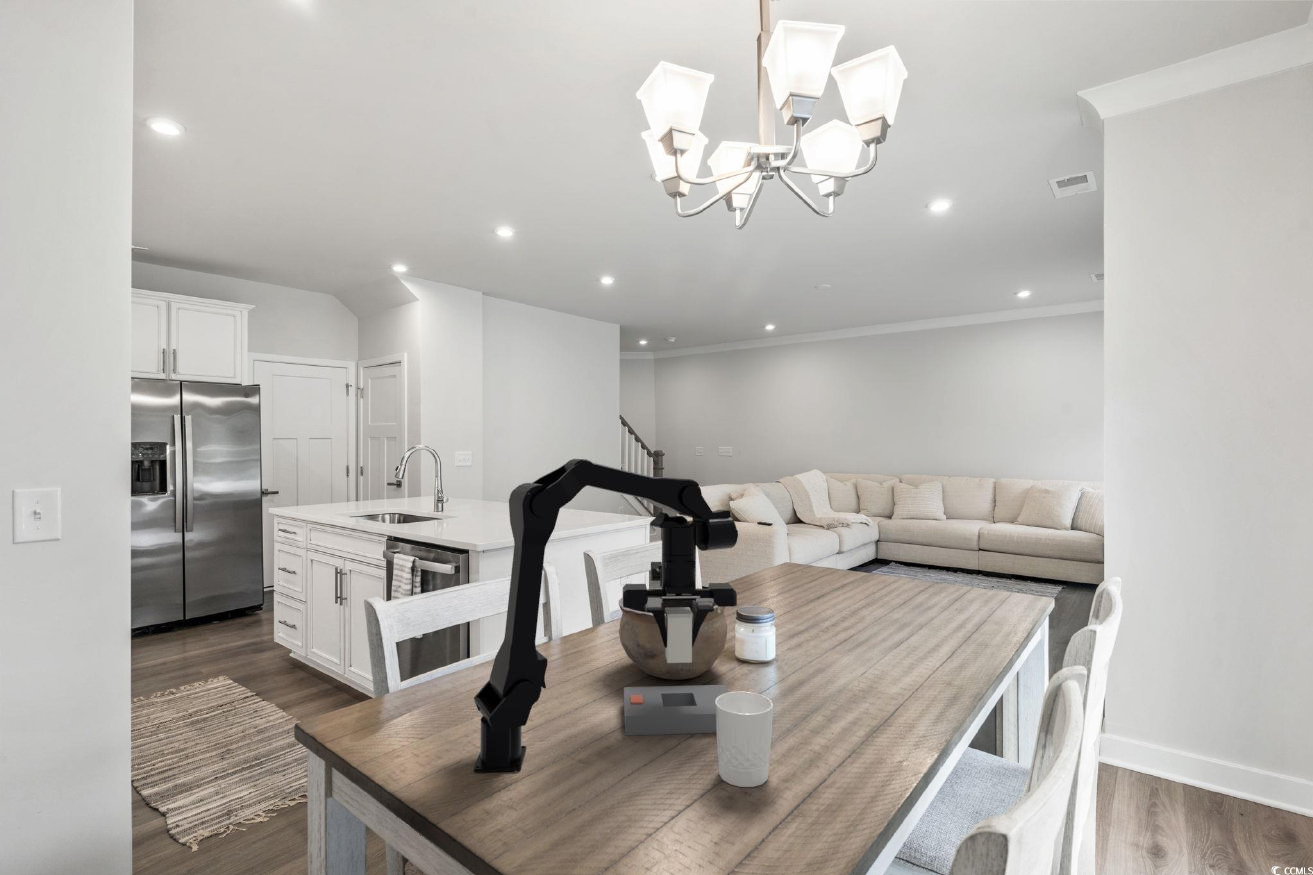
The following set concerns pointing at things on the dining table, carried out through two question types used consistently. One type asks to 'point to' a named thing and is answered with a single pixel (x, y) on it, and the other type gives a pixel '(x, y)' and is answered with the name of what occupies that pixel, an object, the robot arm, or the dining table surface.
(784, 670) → the dining table surface
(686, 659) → the plug
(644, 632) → the ceramic bowl
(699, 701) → the socket
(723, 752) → the white cup
